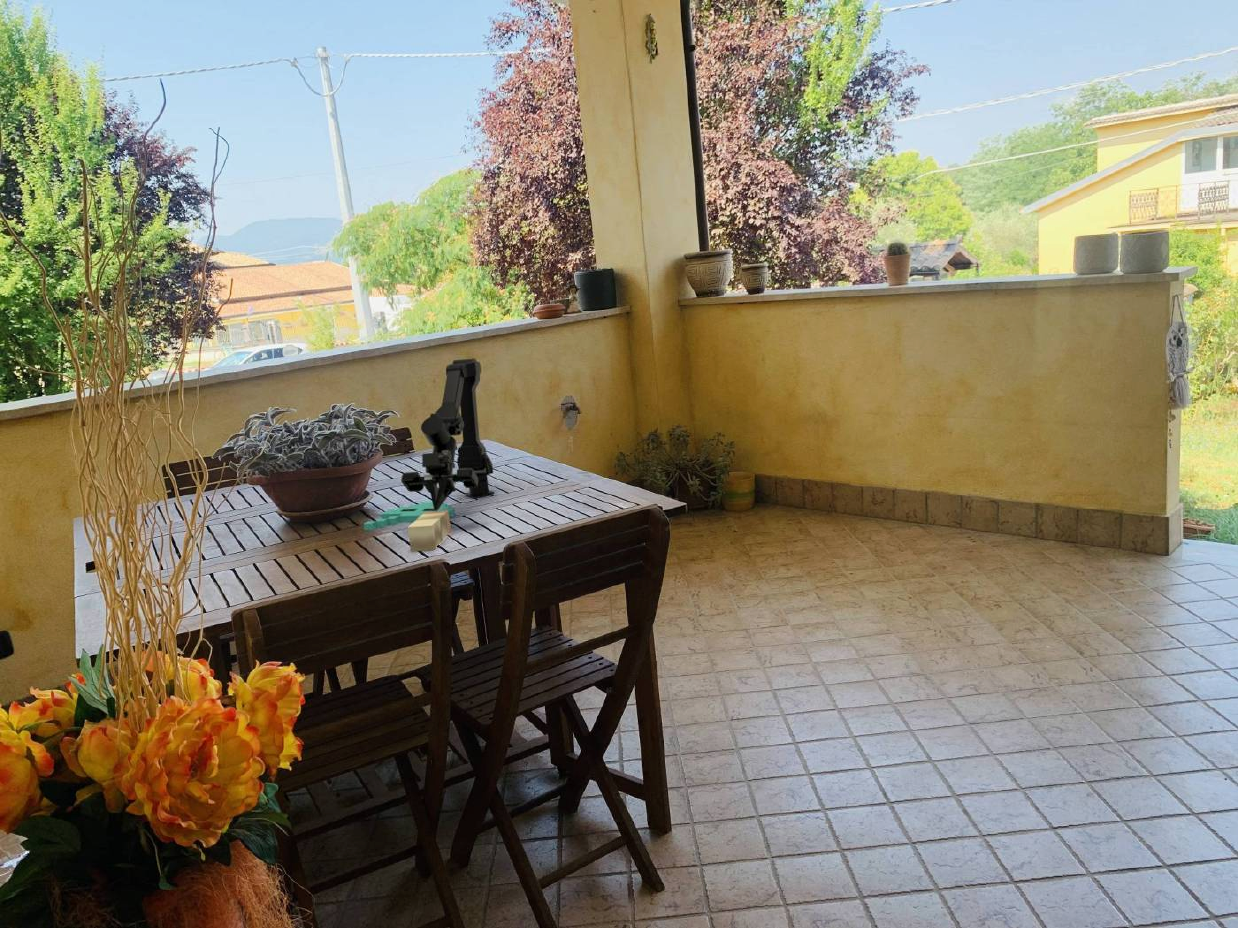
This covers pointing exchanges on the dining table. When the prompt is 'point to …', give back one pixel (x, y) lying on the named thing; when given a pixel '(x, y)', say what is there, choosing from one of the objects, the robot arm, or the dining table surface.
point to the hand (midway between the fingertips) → (435, 508)
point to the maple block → (429, 530)
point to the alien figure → (405, 515)
